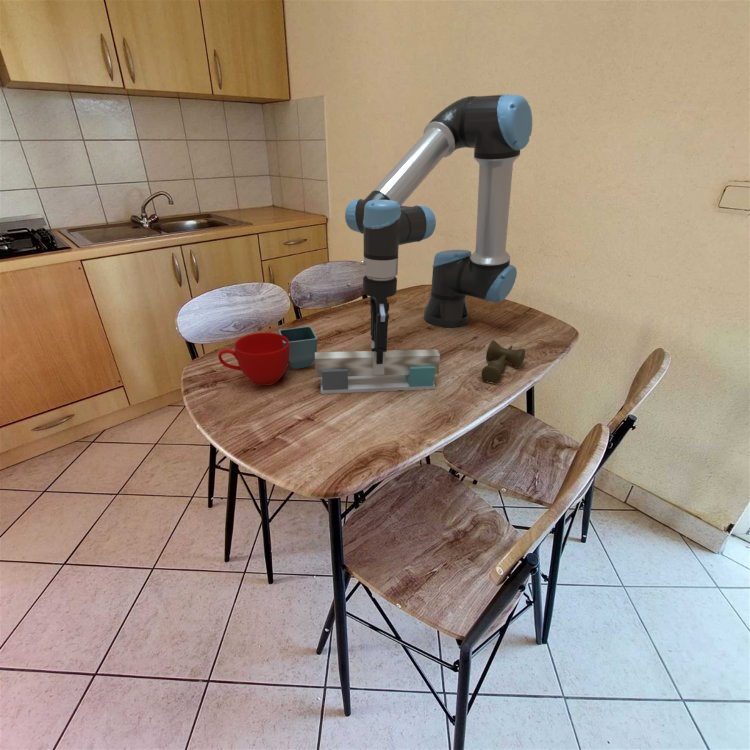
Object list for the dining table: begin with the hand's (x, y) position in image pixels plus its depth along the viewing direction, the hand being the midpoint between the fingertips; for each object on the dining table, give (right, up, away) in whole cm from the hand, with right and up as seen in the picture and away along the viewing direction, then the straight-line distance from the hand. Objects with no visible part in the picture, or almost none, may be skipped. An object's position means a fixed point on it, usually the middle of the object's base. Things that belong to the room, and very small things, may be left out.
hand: (377, 369), depth 107 cm
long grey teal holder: (0, -4, +2) cm, 4 cm away
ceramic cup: (-30, -3, +3) cm, 30 cm away
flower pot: (-21, +1, +11) cm, 24 cm away
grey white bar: (0, -1, 0) cm, 1 cm away
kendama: (+34, 0, +12) cm, 35 cm away
